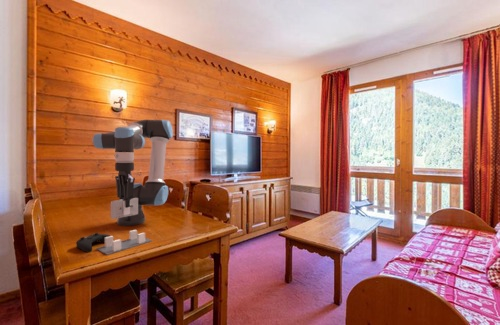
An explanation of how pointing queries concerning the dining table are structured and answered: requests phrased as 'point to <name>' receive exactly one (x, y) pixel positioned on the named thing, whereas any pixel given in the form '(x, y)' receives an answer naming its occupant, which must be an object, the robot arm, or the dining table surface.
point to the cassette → (119, 212)
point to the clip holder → (123, 243)
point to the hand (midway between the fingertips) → (125, 213)
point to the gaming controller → (90, 241)
